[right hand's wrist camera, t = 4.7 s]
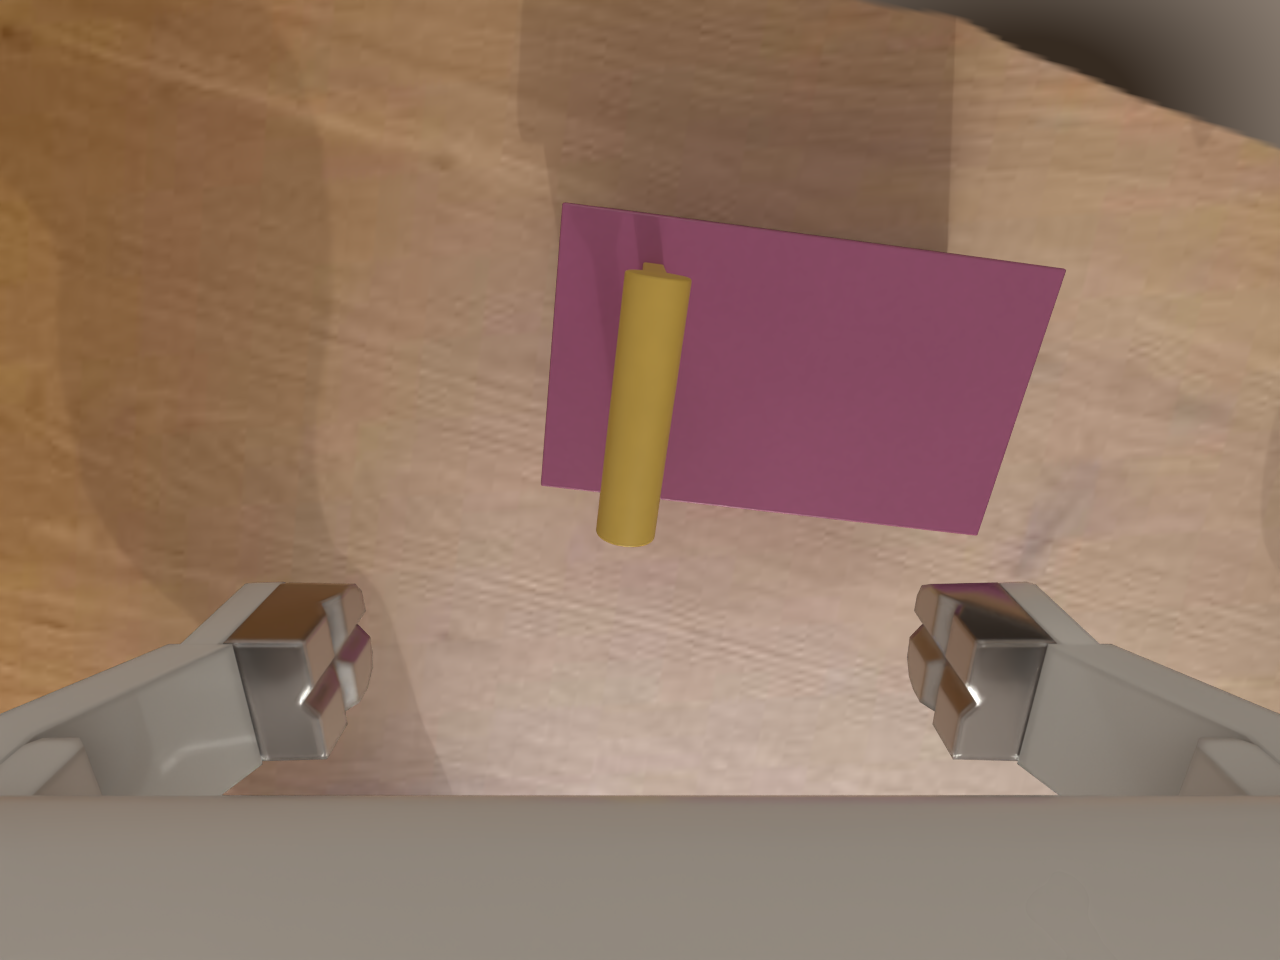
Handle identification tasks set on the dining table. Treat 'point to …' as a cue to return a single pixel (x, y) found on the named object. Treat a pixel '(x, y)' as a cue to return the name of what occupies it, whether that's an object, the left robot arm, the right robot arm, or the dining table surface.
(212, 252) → the dining table surface
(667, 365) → the lid
